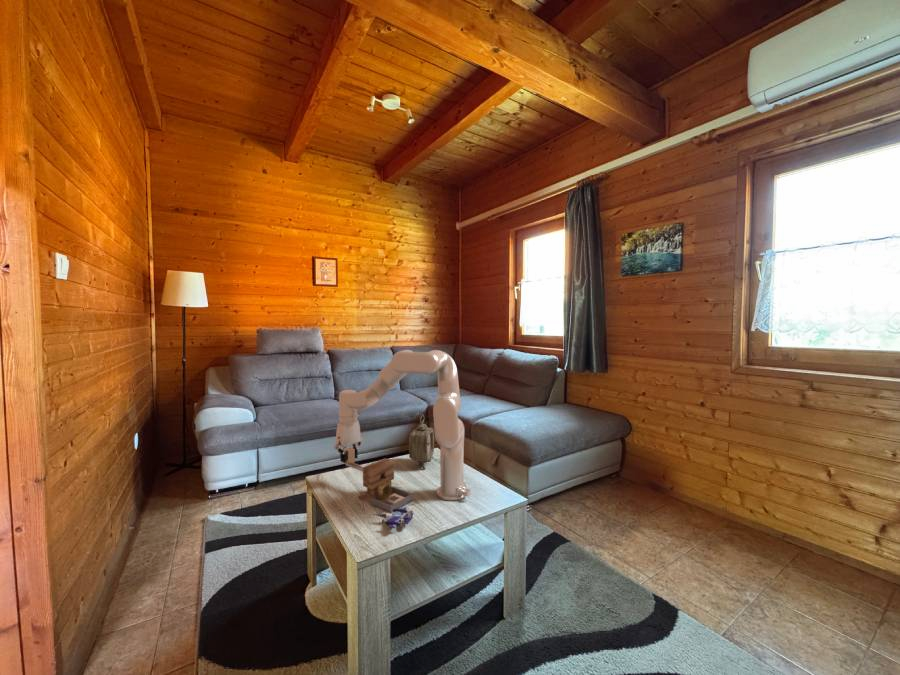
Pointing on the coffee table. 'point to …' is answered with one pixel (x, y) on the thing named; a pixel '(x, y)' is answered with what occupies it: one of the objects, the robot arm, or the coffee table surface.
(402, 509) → the toy airplane
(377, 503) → the tray
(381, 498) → the bar
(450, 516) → the coffee table surface
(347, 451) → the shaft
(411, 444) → the old lantern
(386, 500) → the square wooden ring
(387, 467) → the bearing block
